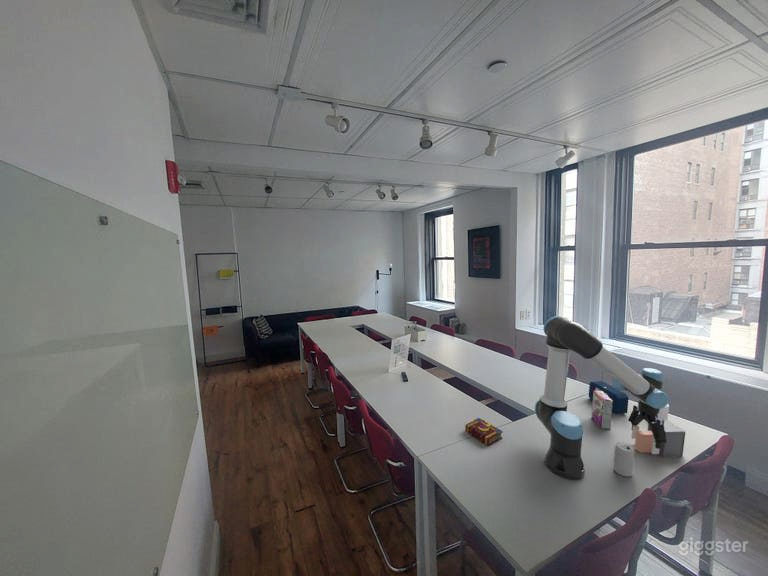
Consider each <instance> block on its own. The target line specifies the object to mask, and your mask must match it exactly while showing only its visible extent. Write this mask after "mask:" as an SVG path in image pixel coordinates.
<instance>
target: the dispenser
mask: <svg viewBox="0 0 768 576" xmlns="http://www.w3.org/2000/svg"><path fill="white" fill-rule="evenodd" d="M651 423H654V422H651ZM664 430H665V435H666V441H667V443H661V448H660V449H659V454H658V455H660V456H661V457H663V458H672V457H673V458H676V457H677V458H678V457H683V456H684V449H685V448H684V447H685V438H686V432H687V431H686V430H684V429H683V428H681V427H679V426H678V425H675V424H674V423H672V422H671V421H669V420H664ZM647 431H652V430H651V427H650V425H649V424H648V423H647Z"/></svg>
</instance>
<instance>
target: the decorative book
mask: <svg viewBox="0 0 768 576" xmlns="http://www.w3.org/2000/svg"><path fill="white" fill-rule="evenodd" d="M464 427H465V432H466V433H468V434H469V436H470V437H472V438H475V439H477V440H478V441H479V442H480V443H481V444H485V445H486V446H488V447H490V446H491V445H493V444H495V443H496V442H499V441H500V440H503V437H502V434H503V430H501V429H499V428H498V427H496V426H494V425H492V423H488V422H486V421H485V420H484V419H482V418H480V417H478V418H476V419H474V420H473V421H470V422H468V423H467V424H465V426H464Z"/></svg>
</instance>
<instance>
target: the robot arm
mask: <svg viewBox="0 0 768 576" xmlns="http://www.w3.org/2000/svg"><path fill="white" fill-rule="evenodd" d="M543 332H544V334H545V336H546V341H545V346H547V347H548V352H547V353H548V356H547V364H546V372H545V381H544V388H543V389H544V390H543V394H542V395H540V396H539V399H538V400H537V401H536V402H535V405H534V413H535V415H536V417H537V419H538V420H539V421H540V423H541V424H542V425H543V427H544V428H545V429H546V430H547V431H548V433H549V435H550V442H549V443H550V444H549V445H550V446H549V448H548V450H547V452H546V454H545V456H544V463H545V466H546V468H547V469H549V471H551V472H552V473H554V475H557V476H559V477H561V478H564V479H567V480H581V479H582V478H584V476H585V465H584V461H583V458H582V446H583V445H582V443H583V434H584V427H583V423H582V420H581V419H580V418H579V417H577V416H576V415H575V414H574V413H573V414H572V413H571V412H569V411H567V410H568V402H567V401H566V400H565V395H566V390H567V389H566V387H567V382H568V381H567V380H568V372H569V365H570V357H571V356H570V355H571V352H574V353H576V354H577V355H579V356H580V357H582V359H584V360H590V361H591V363H593V364H595V365H596V366H597V367H599V368H600V369H601V370H602V371H603V372H605V373H607V374H608V375H609V376H610V377H611V383H612V387H614V388H616V389H618V390H620V391H627V392H628V393H630V394H632V395H633V396H634V397H636V398H638V403H637V404H636V405H633V407H632V411H631V413H630V415H629V417H628V422H629V423H630V424H631V439H632V440H634V439H635V440H636V431H640V423H641V422H642V421H646V423H647V425H648V424H649V425H650V427H651V430H652V433H653V436H654V439H655V440H653V445H652V452H651V454H652V455H660V454H659V449H660V448H661V443H667V441H666V435H665V430H664V420H660V419H659V418H658V416H657V414H658V413H659V411H660V409H661V408H664V407H665V406H666V405H667V404H669V401H670V400H669V396H668V395H667V394H666V393H665V392H663V383H664V373H663V372H662V371H660V370H658V369H656V368H652V367H644V368H641V371H640V373H638V372H636V371H635V370H633V368H631V367H630V366H628V364H626V363H625V362H624V361H622V360H621V359H619V358H618V357H617V356H616V355H614V354H613V353H612V352H611V351H609V350H608V349H607V348H606V347H604V343H603V342H602V341H601V340H599V339H598V338H597V337H596V336H595V335H594V334H592V333H591V332H590V331H589V330H588V329H587V328H586V327H585V326H584V325H582V324H581V323H578V322H576V321H574V320H571V319H569V318H568V317H565V316H561V315H554V316H552V317H550V318H548V319H547V320H546V321H545V322H544V324H543ZM651 422H654V423H651Z"/></svg>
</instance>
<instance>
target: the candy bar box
mask: <svg viewBox="0 0 768 576" xmlns="http://www.w3.org/2000/svg"><path fill="white" fill-rule="evenodd" d="M612 405H613V401H612V400H611V399H610V398H609V397H608V396H607V395H606V394H605V393H604V392H603V391H596V390H595V391H593V401H592V407H591V410H592V411H591V418H592V419H593V420H594V422H596V424H597V425H598V426H599V427H600V428H601V429H604V430H605V429H608V430H612V429H611V428H612V417H613V413H612Z"/></svg>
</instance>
